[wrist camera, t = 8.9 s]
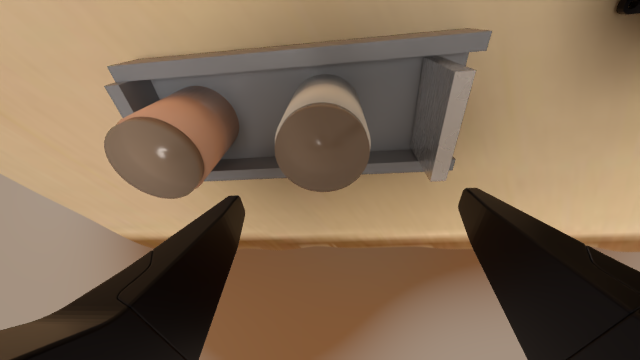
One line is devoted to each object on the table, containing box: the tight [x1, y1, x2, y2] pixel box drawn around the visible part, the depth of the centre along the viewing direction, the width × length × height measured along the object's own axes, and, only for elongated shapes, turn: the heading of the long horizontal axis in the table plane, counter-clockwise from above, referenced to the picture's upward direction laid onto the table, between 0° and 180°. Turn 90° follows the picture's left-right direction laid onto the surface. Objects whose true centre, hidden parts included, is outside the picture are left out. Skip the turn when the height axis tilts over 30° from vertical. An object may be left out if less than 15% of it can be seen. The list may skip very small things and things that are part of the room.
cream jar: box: [275, 74, 371, 192], centre depth 16 cm, size 6×6×7 cm
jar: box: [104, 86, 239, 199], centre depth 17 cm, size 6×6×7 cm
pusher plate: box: [410, 56, 476, 181], centre depth 16 cm, size 1×7×5 cm, turn 5°
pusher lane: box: [104, 28, 492, 181], centre depth 18 cm, size 24×10×4 cm, turn 95°
